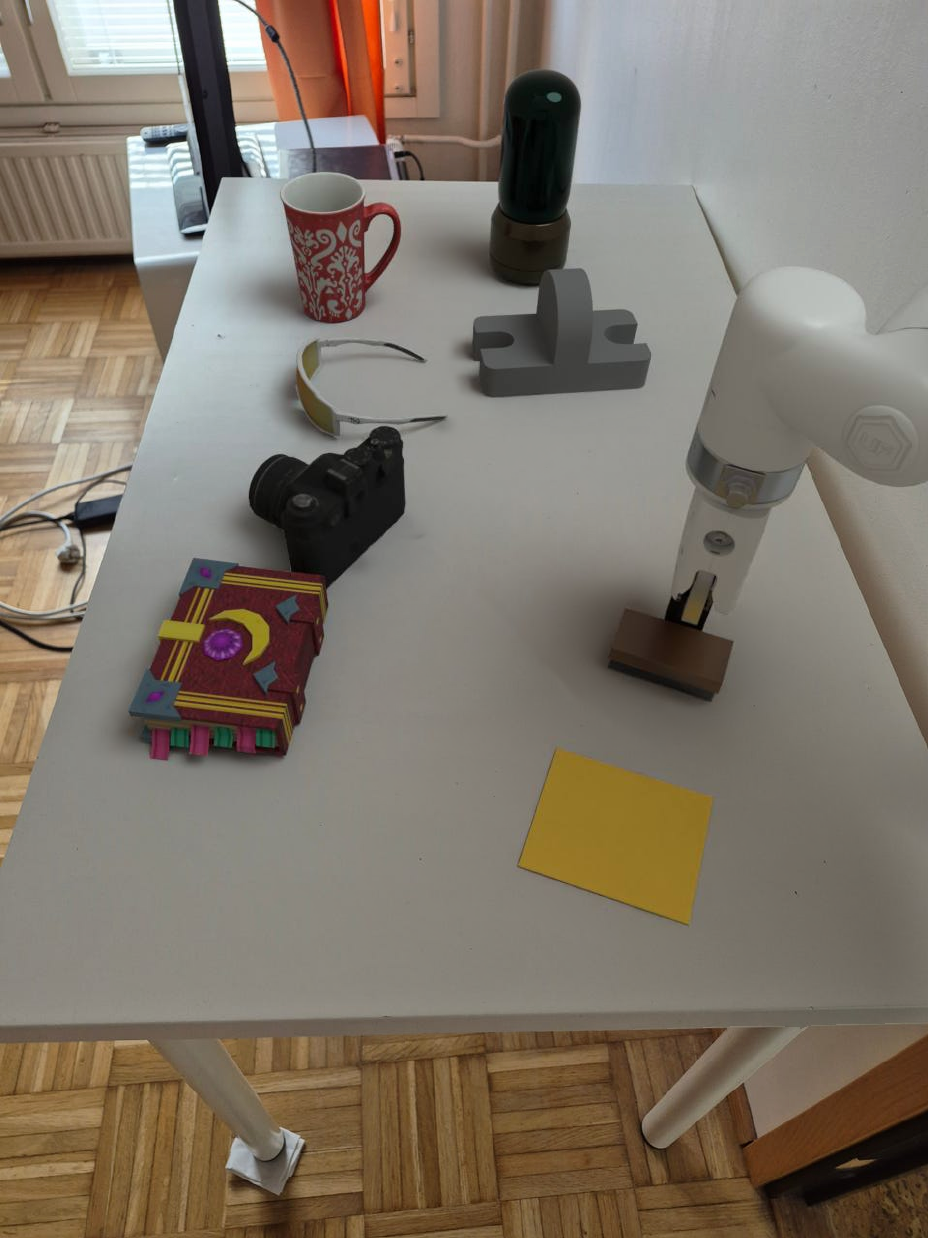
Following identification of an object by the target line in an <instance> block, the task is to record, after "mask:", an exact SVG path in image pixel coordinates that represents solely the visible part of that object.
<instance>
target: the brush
mask: <svg viewBox="0 0 928 1238" xmlns="http://www.w3.org/2000/svg"><path fill="white" fill-rule="evenodd" d="M733 645H734V640H733V639H732V640H731V639H728V638H726V637H721V636H718V635H716V634H712V633H709V632H706V631H703V630H702V631H700V630H696V629H693V628H690V627H687V626H684V625H680V624H677V623H674V622H671V621H668V620H664V618H661V617H658V616H655V615H651V614H649V613H645V612H642V611H639V610H635V609H632V608H629V607H626V606H625V607H624V609H623V611H622V615H621V617H620V620H619V623H618V625H617V627H616V631H615V633H614V637H613V639H612V642H611V645H610V647H609V650H608V655H607V659H608V660H609V661H608V665H607V669H610V670H613V671H615V672H618V673H622V674H624V675H628V676H631V677H633V678H637V679H640V680H643V681H646V682H649V683H652V684H655V685H658V686H662V687H665V688H667V689H670V690H673V691H675V692H679V693H683V694H685V695H689V696H691V697H694V698H698V699H700V700H703V701H707V702H710V703H711V702H712V701H713V699H714V697H715V695H719V693H720V691H721V689H722V686H723V684H724V682H725V677H726V673H727V669H728V666H729V661H730V657H731V654H732V651H733V650H732V649H733Z"/></svg>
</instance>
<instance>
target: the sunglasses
mask: <svg viewBox="0 0 928 1238" xmlns="http://www.w3.org/2000/svg"><path fill="white" fill-rule="evenodd" d="M346 344H361V345H367V346H371V347H385V348H390V349H392V350H395V351H398V352H402V353H403V354H406V355H408V356H410V357H412V358H414V359H415V360H418V361H420V362H421V363H425V362H427V361H428V358H427V357H425V356H423V355H422V354H420V353H418V352H416V351H414V350H413V349H411V348H409V347H407V346H404V345H402V344H399V343H397V342H393V341H389V340H386V339H377V338H365V337H350V336H349V337H347V336H336V337H335V336H334V337H320V338H319V337H314V336H312V337H311V338H309V339H308V340H306V341H305V342H302V344H301V345H300V347H299V349H298V350H297V353H296V383H295V391H296V394H297V397H298V400H299V402H300V405H301V407H302V409H303V412H304V414H305V415H306V416H307V418H308V420H309V422H310V423H312V424H313V426H314V427H315V428H317V429H318V430H319V431H321V432H323V433H324V434H326V435H328V436H331V437H340V436H341V423H340V422H345V423H349V424H353V425H364V424H387V425H397V426H400V425H404V424H411V423H423V422H424V423H425V422H435V421H436V422H437V421H444V420H445V419H447V418H448V417H449V416H450V415H449V413H443V414H427V415H426V414H425V415H409V416H405V417H377V416H368V415H362V414H357V413H352V412H346V411H342V410H339V409H338V407H336V406H335V405H333V404H332V403H331V402H329V401H328V400H327V399H325V398H324V397H323V396H322V395H321V393H320V391H319V390H318V388H316V387H315V386H314V384H313V381H314V380H315V378H316V377H317V376H318V374H319V372H320V371H321V370H322V368H323V359H322V358H323V357H322V349H321V348H327V347H328V348H329V347H331V348H332V347H334V348H336V347H338V346H341V345H346Z"/></svg>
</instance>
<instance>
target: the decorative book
mask: <svg viewBox="0 0 928 1238" xmlns="http://www.w3.org/2000/svg"><path fill="white" fill-rule="evenodd" d="M327 590H328V589H327ZM327 590H326V583H325V576H323V575H314V574H306V573H297V572H291V571H287V570H278V569H272V568H271V569H269V568H261V567H252V566H243V565H239V563H238V562H233V561H232V562H231V561H224V560H215V559H207V558H199V557H193V558H192V559H191V562H190V564H189V567H188V569H187V572H186V574H185V577H184V579H183V581H182V583H181V586H180V589H179V591H178V596H179V598H178V600H177V603H176V605H175V607H174V609H173V612H172V614H171V617H170V619H169V620H168V619H164V620H163V622H162V624H161V627H160V629H159V632H158V634H157V639H158V641H159V645H158V648H157V649H156V652H155V654H154V657H153V659H152V661H151V664H150V666H149V668H148V667H146V669H145V671H144V673H143V675H142V677H141V680H140V683H139V684H138V687H137V689H136V691H135V694H134V696H133V699H132V701H131V703H130V705H129V707H128V709H127V713H128V715H129V716H130V717H131V718H140V719H143V720H144V722H145V723H144V724H143V728H142V729H141V733H140V735H139V737H140V739H141V741H142V742H149V743H151V748H150V759H155V760H161V761H162V760H163V761H169V754H170V746H172V747H181V748H186V749H187V748H189V752H188V754H189V755H197V756H206V757H208V754H209V747H213V748H222V749H227V750H228V749H229V750H236V751H237V752H241V753H248V754H256V753H262V754H270V755H276V756H284V757H285V756H287V754H288V750H289V746H290V743H291V739H292V737H293V734H294V733H293V732H294V730H295V726H296V724H297V725H300V724H301V721H302V718H303V715H304V711H305V707H306V704H307V700H306V694H305V690H306V687H307V683H308V681H309V680H308V679H309V676H310V672H311V670H312V665H313V662H314V658H315V656H320V653H321V650H322V646H323V642H324V639H325V629H324V623H325V619H326V616H327V613H328V608H329V598H328V591H327Z"/></svg>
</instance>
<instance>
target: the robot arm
mask: <svg viewBox="0 0 928 1238" xmlns="http://www.w3.org/2000/svg"><path fill="white" fill-rule="evenodd" d="M814 446H816V447H817V448H818V449H820V450H821V451H823V452H825V454H827V455H828V456H829V457H831V458H832V459H833V460H834V461H836V462H837V463H838V464H840V465H842V466H843V467H845V468H846V470H847V469H848V470H849V471H851V472H852V473H854V474H855V475H857V476H858V477H861V478H863V479H865V480H867V481H869V482H873V483H875V484H877V485H881V486H885V487H891V488H908V487H909V488H910V487H915V486H919V485H921V484H925V483H927V482H928V281H927V282H926V283H925V284H923V285H922V286H920V287H919V288H918V289H917V290H916V291H914V292H913V293H912V294H910V295H909V296H908V297H907V298H906V299H905V300H904V301H902V303H901V304H899V306H897V308H896V309H895V310H894V311H893V312H892V313H891V314H890V315H889V316H888V317H887V319H886V320H885V321H884V323H883V324H882V325H881V326H880V327H879V328H878V330H877V331H876V332H875V333H874V334H872V333H870V332H869V331H868V330H867V309H866V305H865V303H864V300H863V298H862V297H861V295H860V294H859V292H857V290H855V288H853V286H852V285H850V284H849V283H848V282H846V281H845V280H843V279H842V278H840V277H838V276H836V275H834V274H832V273H829V272H827V271H823V270H820V269H817V268H813V267H808V266H800V265H799V266H798V265H786V266H785V265H784V266H777V267H773V268H769V269H767V270H764V271H761V272H759V273H757V274H756V275H755V276H753V277H752V278H750V279H749V280H748V281H747V282H746V283H745V284H744V285H743V287H742V288H741V290H740V292H739V293H738V295H737V296H736V299H735V302H734V304H733V307H732V309H731V313H730V316H729V319H728V323H727V326H726V329H725V332H724V335H723V339H722V342H721V345H720V348H719V352H718V355H717V358H716V361H715V365H714V368H713V371H712V373H711V377H710V381H709V383H708V388H707V390H706V395H705V398H704V401H703V405H702V408H701V411H700V414H699V417H698V420H697V423H696V426H695V430H694V433H693V437H692V439H691V441H690V446H689V448H688V452H687V455H686V458H685V470H686V474H687V476H688V479H689V480H690V481H691V483H692V484H693V485H694V486H695V487H694V490H693V494H692V497H691V500H690V504H689V507H688V510H687V514H686V518H685V522H684V526H683V529H682V533H681V538H680V542H679V546H678V550H677V556H676V559H675V565H674V571H673V575H672V581H671V587H670V591H669V593H670V598H669V601H668V603H667V606H666V610H665V614H664V618H663V619H664V620H668V621H671V622H674V623H677V624H680V625H684V626H687V627H690V628H693V629H696V630H700V631H703V630H704V627H705V625H706V622H707V619H708V617H709V615H710V612H711V610H712V607H714V611H715V613H718V614H722V615H725V616H727V615H729V614H730V613H731V614H732V612H734V610H735V607H736V605H737V601H738V599H739V596H740V594H741V592H742V589H743V587H744V583H745V581H746V578H747V576H748V573H749V571H750V569H751V566H752V563H753V561H754V558H755V555H756V553H757V551H758V548H759V546H760V543H761V540H762V537H763V534H764V531H765V529H766V526H767V522H768V520H769V517H770V514H771V510H772V508H775V507H777V506H779V505H781V504H783V503H785V501H788V499H789V498H790V497H791V496H792V494H793V492H794V491H795V488H796V486H797V483H798V481H799V480H800V477H801V475H802V473H803V470H804V468H805V466H806V464H807V461H808V459H809V457H810V455H811V453H812V451H813V448H814Z"/></svg>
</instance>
